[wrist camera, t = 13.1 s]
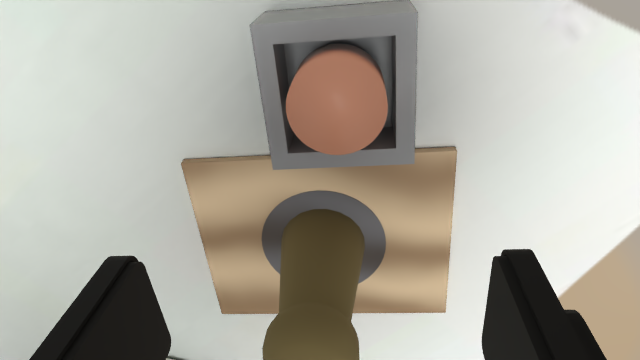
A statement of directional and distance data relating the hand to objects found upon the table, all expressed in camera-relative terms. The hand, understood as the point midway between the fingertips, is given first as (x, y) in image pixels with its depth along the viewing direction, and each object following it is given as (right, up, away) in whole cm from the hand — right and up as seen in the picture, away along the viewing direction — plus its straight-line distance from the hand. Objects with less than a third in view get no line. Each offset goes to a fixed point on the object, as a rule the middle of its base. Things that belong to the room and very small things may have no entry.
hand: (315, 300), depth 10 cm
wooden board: (0, -1, +22) cm, 22 cm away
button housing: (+1, +9, +16) cm, 18 cm away
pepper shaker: (0, -2, +21) cm, 21 cm away
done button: (+1, +8, +14) cm, 16 cm away
